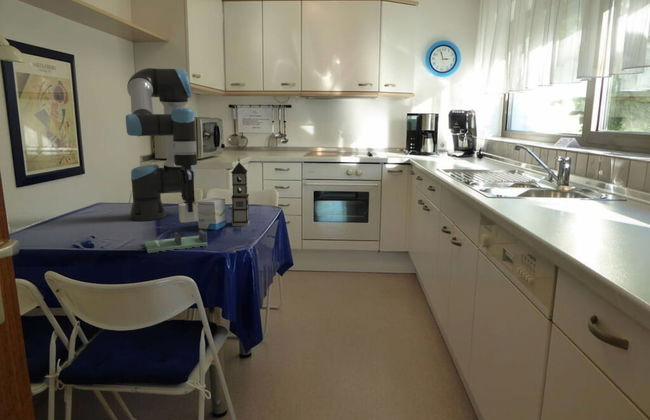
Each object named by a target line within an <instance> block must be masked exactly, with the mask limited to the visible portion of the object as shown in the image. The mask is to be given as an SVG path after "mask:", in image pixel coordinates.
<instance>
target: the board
mask: <svg viewBox="0 0 650 420" xmlns="http://www.w3.org/2000/svg"><path fill="white" fill-rule="evenodd" d="M173 233H174V235H173V236H174V237H173V238H163V239H156V240H155V239H154V240H147V241H144V242H143V245H144V247H145V249H147V250H146V252H147V254H151V253H153V254H154V253H160V252H159V251H162V252H167V251H166V250H170V251H175V250H174V249H179V250H185V248H187V249H193V248H192V247H195V248H201V247H200V246H203V247H208V246H209V244H208V242H207V234H206V232H205V231H204V229H199V230H198V235H192V236H190V235H189V236H183V237H182V236H181V235H180V233H179V232H178V231H177V232H173Z"/></svg>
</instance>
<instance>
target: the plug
mask: <svg viewBox="0 0 650 420" xmlns="http://www.w3.org/2000/svg"><path fill="white" fill-rule="evenodd" d="M194 218H195V221H186V206H185V203H184V204H183V203H178V220H179V222H180V223H181V224H182V223H191V222H192V223H193V222H198V221H199V218H198V204H197V200H195V202H194Z"/></svg>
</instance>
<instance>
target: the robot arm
mask: <svg viewBox="0 0 650 420" xmlns="http://www.w3.org/2000/svg"><path fill="white" fill-rule="evenodd" d="M126 87H127V89H126V90H127V94H128V95H129V97H130V110H131V111H130V113H128V114H126V115H125V127H126V134H127V135H128V136H131V137H135V136H136V137H151V136H163V137H164V136H165V149H166V152H165V153H166V160H165V161H164V163H163V167H160V165H158V164H147V165H141V166H136V167H134V168H133V169H131V172H130V175H131V176H130V180H131V188H132V189H131V191H132V206H131V209H130V212H129V217H130V220H132V221H136V222H138V221H139V222H143V221H144V222H145V221H155V220H161V219H164V218H166V217H167V211H166V208H165V207H164V204H163V201H162V197H161V196H162V195H163V194H176V193H177V194H179V193H181V198H182V204H184V203H185V206H186V221H194V222H196V221H195V218H194V202H195V201H196V199H195V167H194V166H196V165H197V164H198V158H197V154H196V153H197V139H196V123H195V122H196V117H195V111H194V109H193V108H191V107H190V108H189V107H188V108H187V107H185V106H186V105H187V103H188V101H189V99H190V98H192V90H191V82H190V79H189V75H188V72H187V71H186V70H184V69H180V68H179V69H178V68H151V67H150V68H148V67H147V68H142V69H140V70H138V71H137V72H135V73H134V74H133V75H131V77H130V78H129V79H128V81H127V85H126ZM152 98H159V99H158V100H159V103H160V104H162V106H163V113H160V114H158V113H157V114H156V113H154V108H153V101H152ZM161 194H162V195H161Z"/></svg>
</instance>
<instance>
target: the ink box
mask: <svg viewBox="0 0 650 420" xmlns="http://www.w3.org/2000/svg"><path fill="white" fill-rule="evenodd" d="M196 203H197V204H198V218H199V221H197V224H198V229H199V230H213V231H217V230H219V229H221V228H224V227H226V226H227V212H226V198H219V197H218V198H217V197H205V198H202V199H199V200H196Z"/></svg>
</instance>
